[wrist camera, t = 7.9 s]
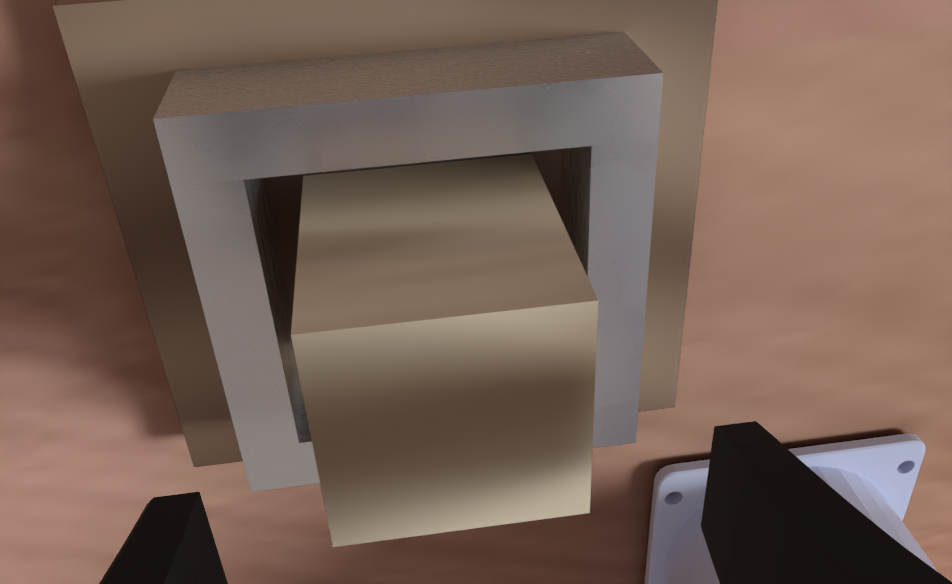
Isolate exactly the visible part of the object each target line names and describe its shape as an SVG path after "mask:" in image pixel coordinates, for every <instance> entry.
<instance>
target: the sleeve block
mask: <svg viewBox="0 0 952 584" xmlns="http://www.w3.org/2000/svg"><path fill="white" fill-rule="evenodd" d="M597 324H598V298H597V296H596V294H595V292H594V290H593V288H592V285H591V283H590V281H589V279H588V277H587V274H586V272H585V270H584V268H583V266H582V263H581V261H580V259H579V257H578V255H577V252H576V250H575V248H574V246H573V244H572V242H571V239H570V237H569V235H568V233H567V231H566V228H565V226H564V224H563V222H562V220H561V217H560V215H559V213H558V211H557V209H556V206H555V204H554V202H553V200H552V198H551V195H550V193H549V191H548V189H547V187H546V185H545V182H544V180H543V178H542V176H541V174H540V171H539V169H538V167H537V165H536V163H535V160H534V158H533V156H532V154H531V152H523V153H513V154H503V155H492V156H482V157H472V158H462V159H451V160H441V161H431V162H420V163H410V164H400V165H390V166H379V167H369V168H359V169H348V170H338V171H328V172H318V173H307V174H303V185H302V198H301V211H300V224H299V237H298V249H297V262H296V275H295V288H294V300H293V313H292V326H291V339H292V344H293V349H294V354H295V359H296V364H297V369H298V374H299V379H300V384H301V389H302V394H303V399H304V404H305V409H306V414H307V419H308V424H309V429H310V434H311V439H312V444H313V450H314V455H315V460H316V465H317V470H318V475H319V480H320V485H321V490H322V495H323V500H324V505H325V510H326V515H327V520H328V525H329V530H330V535H331V540H332V545H333V547H339V546H346V545H354V544H361V543H369V542H376V541H384V540H391V539H399V538H406V537H413V536H421V535H428V534H436V533H443V532H451V531H458V530H466V529H473V528H481V527H488V526H496V525H503V524H511V523H518V522H526V521H533V520H541V519H548V518H556V517H563V516H571V515H578V514H586V513H590V497H591V472H592V448H593V423H594V398H595V374H596V349H597Z"/></svg>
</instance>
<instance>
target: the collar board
mask: <svg viewBox="0 0 952 584" xmlns="http://www.w3.org/2000/svg"><path fill="white" fill-rule="evenodd" d="M717 3H718V0H58V1H57V2H56V3H55V4H54V5H53V9H54V13H55V16H56V19H57V22H58V26H59V29H60V32H61V35H62V39H63V42H64V45H65V48H66V52H67V55H68V58H69V61H70V65H71V68H72V71H73V74H74V78H75V81H76V84H77V87H78V91H79V94H80V97H81V100H82V104H83V107H84V110H85V113H86V117H87V120H88V123H89V127H90V130H91V133H92V136H93V140H94V143H95V146H96V149H97V153H98V156H99V159H100V162H101V166H102V169H103V172H104V175H105V179H106V182H107V185H108V188H109V192H110V195H111V198H112V201H113V205H114V208H115V211H116V214H117V218H118V221H119V224H120V227H121V231H122V234H123V237H124V241H125V244H126V247H127V250H128V254H129V257H130V260H131V263H132V267H133V270H134V273H135V276H136V280H137V283H138V286H139V289H140V293H141V296H142V299H143V302H144V306H145V309H146V312H147V315H148V319H149V322H150V325H151V328H152V332H153V335H154V338H155V342H156V345H157V348H158V351H159V355H160V358H161V361H162V364H163V368H164V371H165V374H166V377H167V381H168V384H169V387H170V390H171V394H172V397H173V400H174V403H175V407H176V410H177V413H178V416H179V420H180V423H181V426H182V429H183V433H184V436H185V439H186V442H187V446H188V449H189V452H190V456H191V459H192V462H193V465H194V467H200V466H208V465H216V464H224V463H232V462H240V461H243V463H244V467H245V471H246V475H247V478H248V482H249V486H250V490H251V492H254V491H261V490H269V489H277V488H285V487H293V486H301V485H308V484H316V483H320V480H319V475H318V470H317V465H316V460H315V455H314V450H313V444H312V439H311V434H310V429H309V424H308V419H307V414H306V409H305V404H304V399H303V394H302V389H301V384H300V379H299V374H298V369H297V364H296V359H295V354H294V349H293V344H292V339H291V326H292V313H293V300H294V288H295V275H296V262H297V249H298V237H299V224H300V211H301V198H302V185H303V174H307V173H318V172H328V171H338V170H348V169H359V168H369V167H379V166H390V165H400V164H410V163H420V162H431V161H441V160H451V159H462V158H472V157H482V156H492V155H503V154H513V153H523V152H531V154H532V156H533V158H534V160H535V163H536V165H537V167H538V169H539V171H540V174H541V176H542V178H543V180H544V182H545V185H546V187H547V189H548V191H549V193H550V195H551V198H552V200H553V202H554V204H555V206H556V209H557V211H558V213H559V215H560V217H561V220H562V222H563V224H564V226H565V228H566V231H567V233H568V235H569V237H570V239H571V242H572V244H573V246H574V248H575V250H576V252H577V255H578V257H579V259H580V261H581V263H582V266H583V268H584V270H585V272H586V274H587V277H588V279H589V281H590V283H591V285H592V288H593V290H594V292H595V294H596V296H597V298H598V324H597V349H596V374H595V398H594V423H593V448H598V447H606V446H613V445H621V444H629V443H636V430H637V417H638V412H641V411H649V410H657V409H665V408H673V407H675V401H676V391H677V382H678V372H679V363H680V354H681V344H682V335H683V325H684V316H685V306H686V297H687V287H688V278H689V268H690V259H691V249H692V240H693V230H694V221H695V211H696V202H697V192H698V183H699V173H700V164H701V154H702V145H703V136H704V126H705V117H706V107H707V98H708V88H709V79H710V69H711V60H712V50H713V41H714V31H715V22H716V12H717Z"/></svg>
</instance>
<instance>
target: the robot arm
mask: <svg viewBox="0 0 952 584" xmlns="http://www.w3.org/2000/svg"><path fill="white" fill-rule="evenodd" d="M925 448H926V446H925V445H924V443H923V442H922V441H921V439H920V438H919V437H918V436H917V435H915V434H900V435H892V436H885V437H877V438H869V439H862V440H854V441H846V442H839V443H831V444H823V445H816V446H808V447H801V448H793V449H787V448H786V447H785V446H784V445H783V444H781V443H780V442H779V441H778V440H777V439H776V438H775V437H773V436H772V435H771V434H770V433H769V432H768V431H767V430H765V429H764V428H763V427H762V426H761V425H760V424H759V423H757V422H756V421H754V422H746V423H738V424H730V425H723V426H715V427H714V434H713V441H712V448H711V455H710V459H709V460H701V461H693V462H686V463H678V464H671V465H668V466H665V467H663V468H662V469H660V470H659V471H658V472H657V474H656V476H655V478H654V487H653V497H652V508H651V519H650V529H649V540H648V551H647V561H646V572H645V582H644V584H952V582H951V581H949V580H948V579H947V578H945V577H944V576H942V575H941V574H940V573H939V572H938V571H937V570H936V568H935V567H934V565H933V564H932V563H931V561H930V560H929V558H928V557H927V556H926V554H925V553H924V551H923V550H922V549H921V547H920V546H919V544H918V543H917V542H916V540H915V539H914V537H913V536H912V535H911V533H910V532H909V530H908V529H907V528H906V526H905V525H904V523H903V518H904V515H905V512H906V509H907V506H908V503H909V500H910V497H911V494H912V491H913V488H914V485H915V481H916V478H917V475H918V472H919V469H920V466H921V463H922V460H923V457H924V454H925ZM672 492H674V493H672ZM669 493H672V494H669ZM668 494H669V495H668ZM99 584H228V583H227V580H226V577H225V573H224V570H223V567H222V564H221V560H220V557H219V554H218V551H217V547H216V544H215V541H214V538H213V535H212V531H211V528H210V525H209V522H208V518H207V515H206V512H205V509H204V505H203V502H202V499H201V496H200V492H194V493H186V494H178V495H170V496H162V497H154V498H153V499H152V500H151V501H150V502H149V503H148V504H147V506H146V507H145V509H144V511H143V512H142V514H141V516H140V517H139V519H138V521H137V523H136V524H135V526H134V528H133V529H132V531H131V533H130V534H129V536H128V538H127V539H126V541H125V543H124V544H123V546H122V548H121V549H120V551H119V553H118V554H117V556H116V558H115V559H114V561H113V562H112V564H111V566H110V567H109V569H108V570H107V572H106V574H105V575H104V577H103V578H102V580H101V582H100V583H99Z"/></svg>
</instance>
